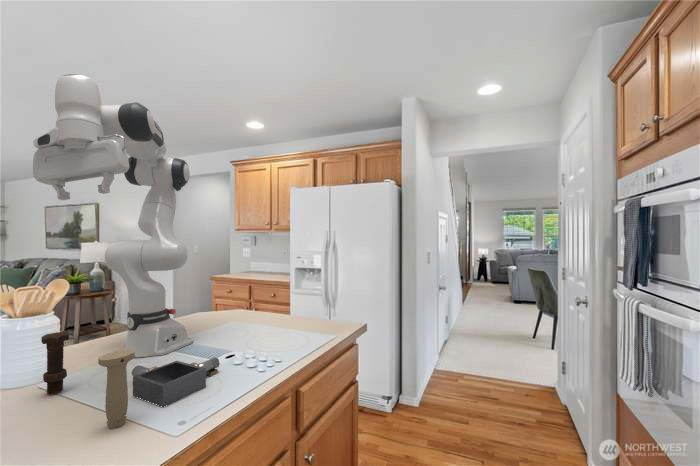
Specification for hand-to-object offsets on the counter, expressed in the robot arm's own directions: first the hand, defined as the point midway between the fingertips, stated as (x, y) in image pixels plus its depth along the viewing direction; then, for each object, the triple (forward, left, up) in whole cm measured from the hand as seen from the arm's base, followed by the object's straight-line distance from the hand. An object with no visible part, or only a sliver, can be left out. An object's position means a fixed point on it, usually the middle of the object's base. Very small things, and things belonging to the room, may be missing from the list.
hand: (84, 196), depth 77 cm
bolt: (-2, -17, -50) cm, 53 cm away
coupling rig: (-20, +4, -50) cm, 54 cm away
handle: (-1, +13, -50) cm, 51 cm away
